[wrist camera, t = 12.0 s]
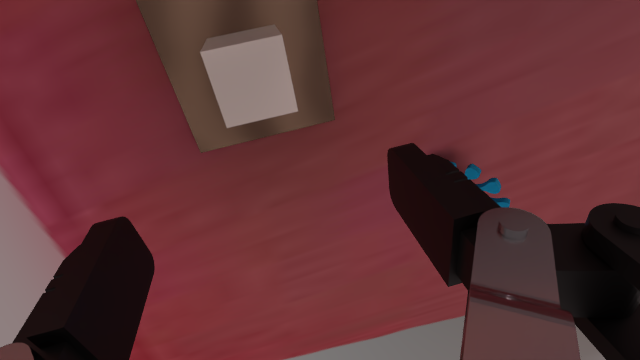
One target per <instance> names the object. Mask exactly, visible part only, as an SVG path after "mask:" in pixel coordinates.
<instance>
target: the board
mask: <svg viewBox="0 0 640 360" xmlns="http://www.w3.org/2000/svg"><path fill="white" fill-rule="evenodd" d="M136 2H137V4H138V7H139V9H140V11H141V14H142V16H143V18H144V21H145V23H146V25H147V28H148V30H149V32H150V35H151V37H152V40H153V42H154V44H155V47H156V49H157V51H158V54H159V56H160V58H161V61H162V63H163V65H164V68H165V70H166V72H167V75H168V77H169V79H170V82H171V84H172V86H173V89H174V91H175V93H176V96H177V98H178V101H179V103H180V105H181V108H182V110H183V112H184V115H185V117H186V119H187V122H188V124H189V126H190V129H191V131H192V133H193V136H194V138H195V140H196V143H197V145H198V147H199V150H200V152H201V153H202V152H206V151H210V150H214V149H218V148H223V147H227V146H231V145H235V144H239V143H243V142H247V141H251V140H255V139H259V138H263V137H267V136H271V135H275V134H280V133H284V132H288V131H292V130H296V129H300V128H304V127H308V126H312V125H316V124H320V123H324V122H328V121H332V120H335V117H334V111H333V104H332V97H331V91H330V84H329V77H328V71H327V64H326V58H325V51H324V44H323V38H322V31H321V24H320V18H319V11H318V5H317V0H136ZM274 24H275V26H276V27H277V29H278V30H279V31H280V33H281V34H282V37H283V42H284V46H285V51H286V56H287V61H288V65H289V70H290V75H291V80H292V84H293V89H294V94H295V99H296V103H297V108H298V111H297V112H293V113H289V114H285V115H281V116H276V117H272V118H268V119H264V120H259V121H255V122H251V123H247V124H242V125H238V126H234V127H230V128H227V127H226V124H225V121H224V119H223V116H222V113H221V110H220V107H219V104H218V102H217V99H216V96H215V93H214V90H213V87H212V85H211V82H210V79H209V76H208V73H207V70H206V67H205V65H204V62H203V59H202V56H201V53H200V51H201V49H202V47H203V45H204V43H205V41H206V39H207V38H212V37H217V36H222V35H226V34H231V33H236V32H241V31H245V30H250V29H255V28H260V27H264V26H269V25H274Z"/></svg>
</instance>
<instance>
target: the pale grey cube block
mask: <svg viewBox="0 0 640 360" xmlns="http://www.w3.org/2000/svg"><path fill="white" fill-rule="evenodd" d="M200 53H201V56H202V59H203V62H204V65H205V67H206V70H207V73H208V76H209V79H210V82H211V85H212V87H213V90H214V93H215V96H216V99H217V102H218V104H219V107H220V110H221V113H222V116H223V119H224V121H225V124H226V127H227V128H230V127H234V126H238V125H242V124H247V123H251V122H255V121H259V120H264V119H268V118H272V117H276V116H281V115H285V114H289V113H293V112H297V111H298V108H297V103H296V99H295V94H294V89H293V84H292V80H291V75H290V70H289V65H288V61H287V56H286V51H285V46H284V42H283V37H282V34H281V33H280V31H279V30H278V29H277V27H276V26H275V24H274V25H269V26H264V27H260V28H255V29H250V30H245V31H241V32H236V33H231V34H226V35H222V36H217V37H212V38H207V39H206V41H205V43H204V45H203V47H202V49H201V51H200Z"/></svg>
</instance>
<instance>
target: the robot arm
mask: <svg viewBox="0 0 640 360" xmlns="http://www.w3.org/2000/svg"><path fill="white" fill-rule="evenodd" d="M387 157H388V174H389V190H390V196H391V199H392V202H393V204H394V206H395V208H396V210H397V211H398V213H399V214H400V216H401V217H402V219H403V220H404V222H405V223H406V225H407V226H408V228H409V229H410V231H411V232H412V234H413V235H414V237H415V238H416V240H417V241H418V243H419V244H420V246H421V247H422V249H423V250H424V252H425V253H426V255H427V256H428V257H429V259H430V260H431V262H432V263H433V265H434V266H435V268H436V269H437V271H438V272H439V274H440V275H441V277H442V278H443V280H444V281H445V283H446V284H447V286H448V287H450V286H453V285H456V284H460V283H463V284H464V286H465V287H466V288H467V290H468V296H467V305H466V313H465V322H464V329H463V338H462V347H461V354H460V360H581V359H580V353H579V346H578V340H577V333H576V327H575V325H576V326H577V327H578V328H579V329H580V330H581V331H582V333H583V334H584V335H585V336H586V337H587V338H588V340H589V341H590V342H591V343H592V344H593V345H594V346H595V347H596V349H597V350H598V351H599V352H600V353H601V354H602V355H603V357H604V358H605V359H606V360H640V207H637V206H633V205H628V204H617V203H611V204H603V205H599V206H596V207H595V208H593V209H592V210H591V211H590V213H589V215H588V218H587V220H586V223H575V224H546V223H545V222H544V221H543V220H542V219H541V218H539V217H537V216H536V215H534V214H532V213H530V212H527V211H525V210H521V209H517V208H509V207H501V206H499V205H498V204H497V203H496V202H495V201H494V200H493V199H492V198H490V197H489V196H488V195H487V194H486V193H485V192H484V191H482V190H481V189H480V188H479V187H478V186H477V185H476V184H475V183H473V182H472V181H471V180H470V179H469V180H468V178H467V176H466V175H464V174H463V173H462V172H461V171H460V172H459V169H458V168H456V167H455V166H454V165H453V164H452V163H451V162H450V161H449V160H447V159H444V158H442V157H439V156H437V155H434V154H430V155H426V154H425V153H424V152H423V151H421V150H420V149H419V148H418V147H417V146H416V145H415V144H414V143H410V144H406V145H402V146H398V147H394V148H390V149H389V150H388V154H387ZM153 275H154V260H153V257H152V254H151V252H150V251H149V249H148V248H147V246H146V245H145V243H144V242H143V240H142V238H141V237H140V235H139V234H138V232H137V231H136V229H135V228H134V226H133V225H132V223H131V222H130V221H129V220H128V219H127V218H126V217H118V218H114V219H110V220H106V221H103V222H99V223H95V224H94V225H92V227H91V228H90V230H89V232H88V233H87V235H86V237H85V239H84V240H83V242H82V244H81V245H79V246H78V247H77V248H76V249H75V250H74V251H73V252H72V253H71V254H70V255H69V256H68V257H67V258H66V259H64V260H63V262H62V264H61V265H60V267H59V268H58V270H57V272H56V273H55V275H54V276H53V277H54V279H53V280H51V281H50V283H49V285H48V286H47V288H46V289H45V291H46V293H43V294H42V296H41V298H40V299H39V301H38V302H37V304H36V306H35V307H34V309H33V311H32V312H31V314H30V315H29V317H28V319H27V320H26V322H25V323H24V325H23V327H22V328H21V330H20V331H19V333H18V335H17V336H16V338H15V339H14V341H13V343H12V344H8V345H5V346H3V347H1V348H0V360H129V358H130V355H131V351H132V348H133V344H134V341H135V337H136V334H137V330H138V327H139V323H140V320H141V316H142V313H143V309H144V306H145V302H146V299H147V295H148V292H149V288H150V285H151V282H152V278H153Z"/></svg>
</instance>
